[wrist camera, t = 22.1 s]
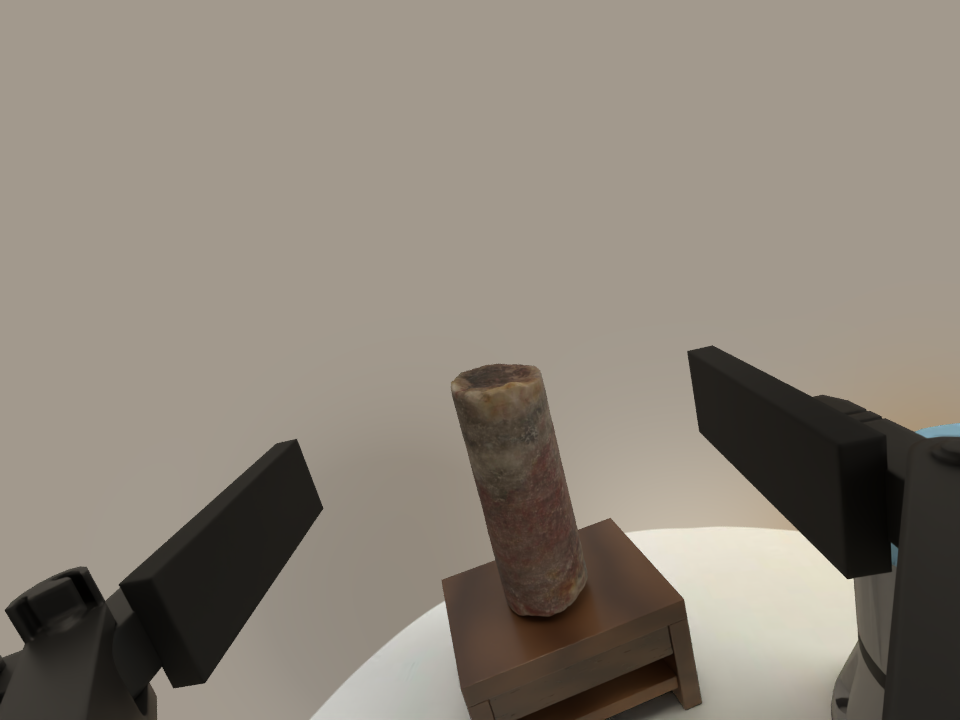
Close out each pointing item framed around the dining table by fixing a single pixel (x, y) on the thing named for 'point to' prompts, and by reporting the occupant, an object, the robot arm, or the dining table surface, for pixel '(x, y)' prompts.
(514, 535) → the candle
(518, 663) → the shelf
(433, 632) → the dining table surface
